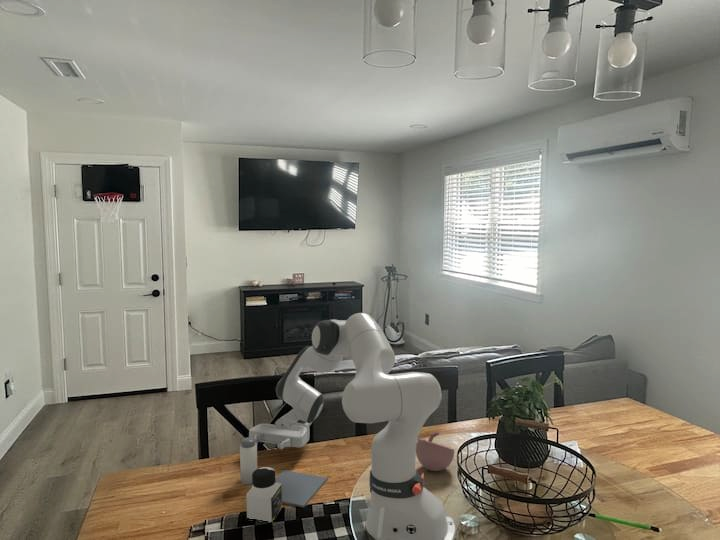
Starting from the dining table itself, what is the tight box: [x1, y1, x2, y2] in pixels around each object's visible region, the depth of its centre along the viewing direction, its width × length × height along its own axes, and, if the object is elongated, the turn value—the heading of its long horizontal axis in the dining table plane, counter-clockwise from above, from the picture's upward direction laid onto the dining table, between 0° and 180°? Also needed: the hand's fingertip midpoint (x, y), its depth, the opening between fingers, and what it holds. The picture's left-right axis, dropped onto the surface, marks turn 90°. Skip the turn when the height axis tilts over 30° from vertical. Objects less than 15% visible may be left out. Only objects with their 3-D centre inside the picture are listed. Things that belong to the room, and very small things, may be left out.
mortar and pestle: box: [416, 431, 455, 472], centre depth 150 cm, size 12×12×11 cm
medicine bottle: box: [245, 466, 283, 523], centre depth 127 cm, size 7×7×12 cm
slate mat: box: [275, 469, 329, 508], centre depth 140 cm, size 15×16×1 cm
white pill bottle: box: [239, 436, 258, 485], centre depth 145 cm, size 5×5×12 cm
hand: (266, 444), depth 154 cm, fingers open, 8 cm apart
